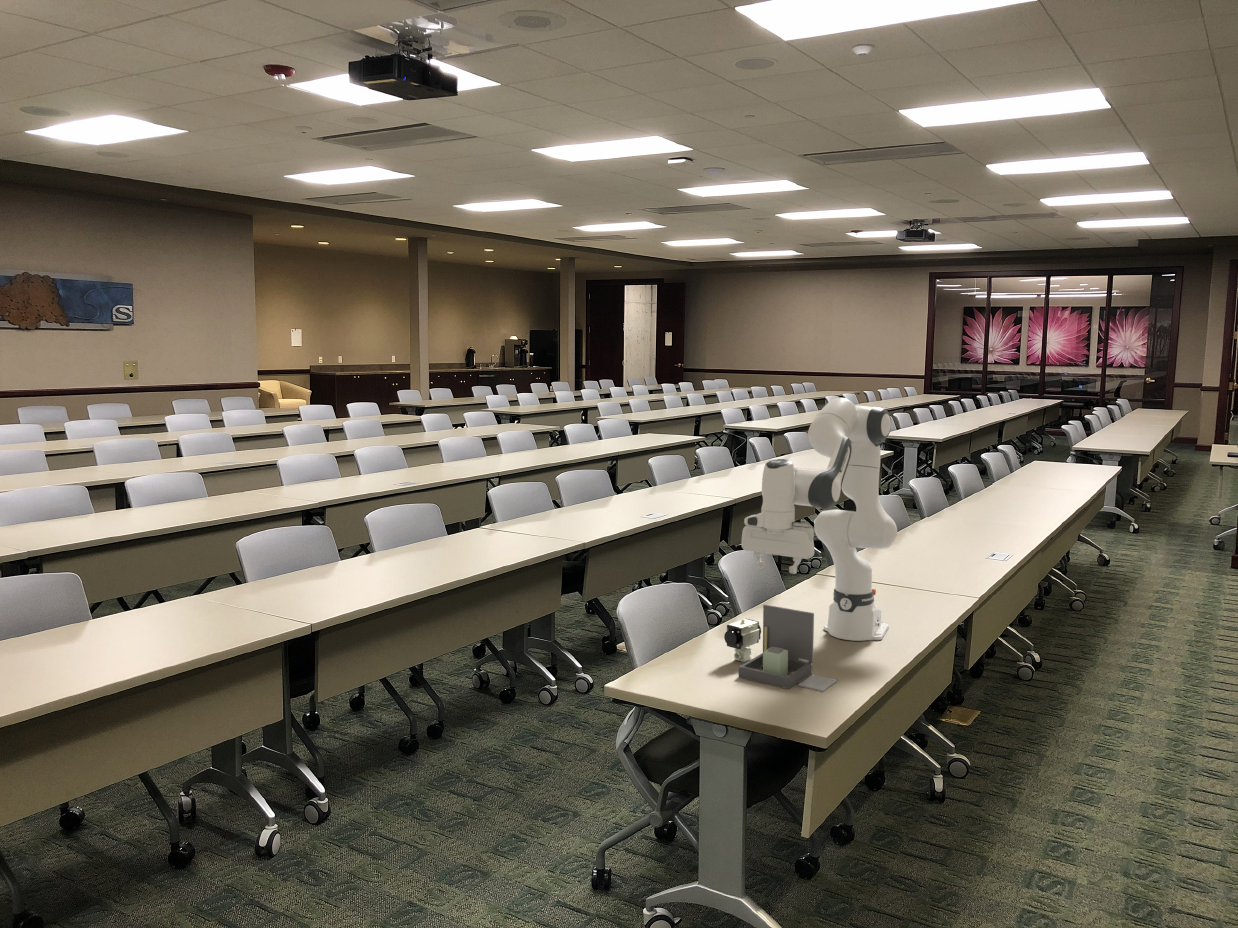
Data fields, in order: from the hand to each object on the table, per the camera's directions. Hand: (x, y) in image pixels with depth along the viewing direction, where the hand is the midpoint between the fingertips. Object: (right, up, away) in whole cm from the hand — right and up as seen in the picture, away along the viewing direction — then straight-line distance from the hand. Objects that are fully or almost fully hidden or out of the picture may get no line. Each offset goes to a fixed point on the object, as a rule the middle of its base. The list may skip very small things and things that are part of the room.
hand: (776, 570), depth 242 cm
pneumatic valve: (-7, -28, +16) cm, 33 cm away
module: (0, -29, +3) cm, 29 cm away
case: (0, -29, +3) cm, 29 cm away
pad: (+10, -30, -3) cm, 32 cm away
